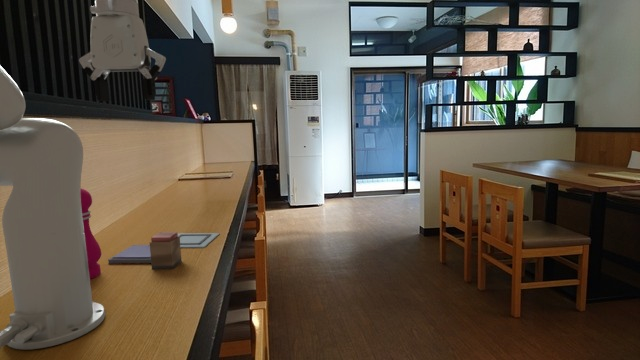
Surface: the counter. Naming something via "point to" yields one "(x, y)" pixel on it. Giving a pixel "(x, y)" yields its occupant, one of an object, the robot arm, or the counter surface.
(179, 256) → the stamp
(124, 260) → the ink pad
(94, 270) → the pepper mill
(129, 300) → the counter surface
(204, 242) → the light grey flat square
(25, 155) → the robot arm
